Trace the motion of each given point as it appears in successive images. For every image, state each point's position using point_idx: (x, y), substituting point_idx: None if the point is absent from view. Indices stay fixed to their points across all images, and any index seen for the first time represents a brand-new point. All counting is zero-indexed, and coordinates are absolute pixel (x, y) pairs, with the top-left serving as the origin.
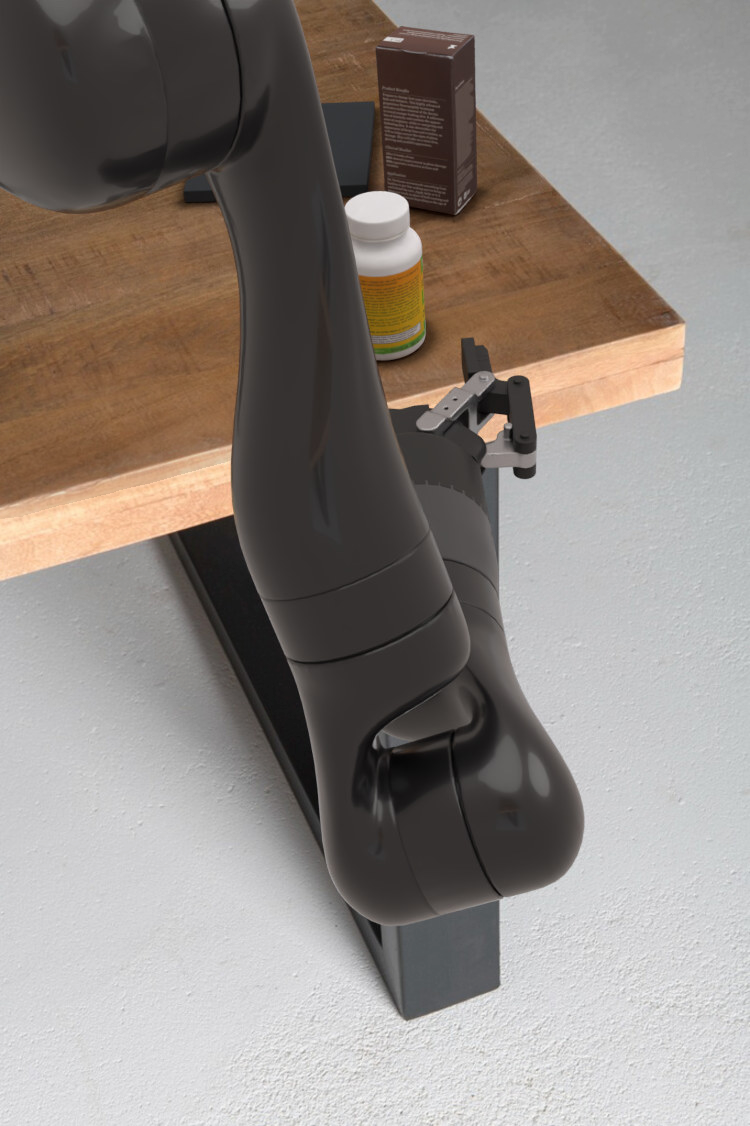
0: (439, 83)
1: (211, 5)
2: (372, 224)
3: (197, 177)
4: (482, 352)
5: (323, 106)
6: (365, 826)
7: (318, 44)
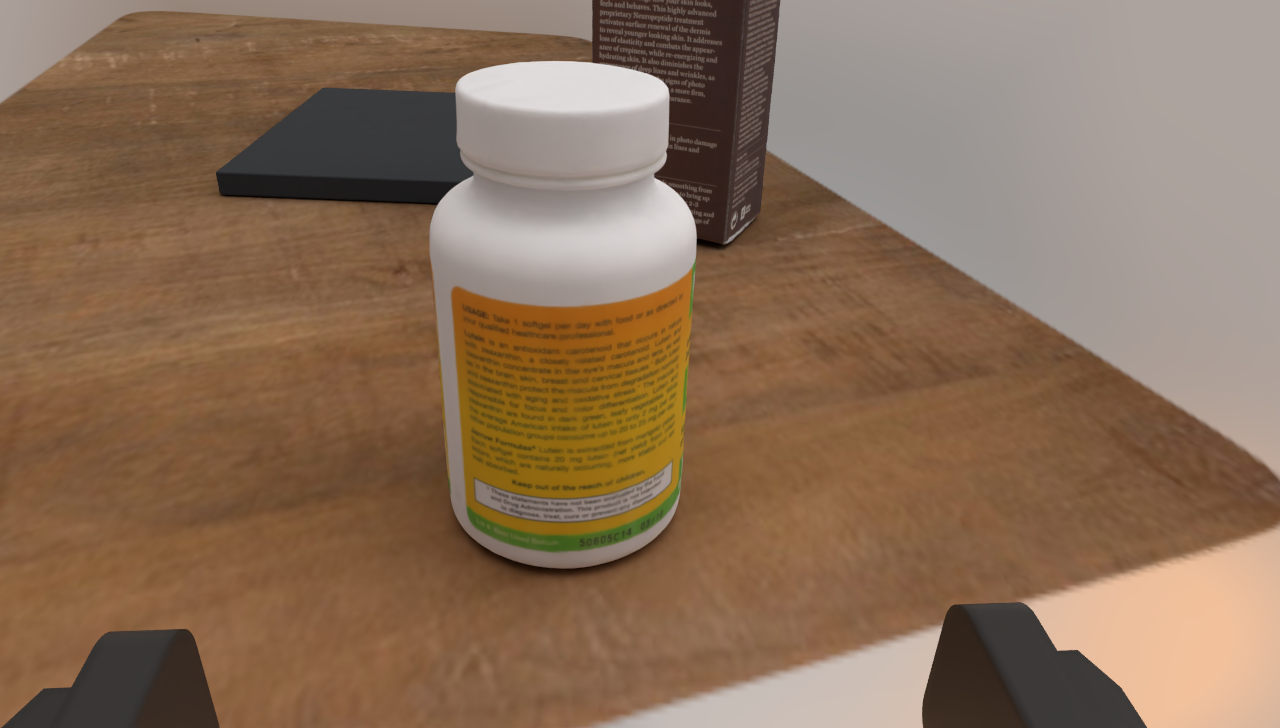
0: None
1: None
2: (543, 117)
3: (254, 157)
4: (1102, 708)
5: None
6: None
7: (514, 56)
